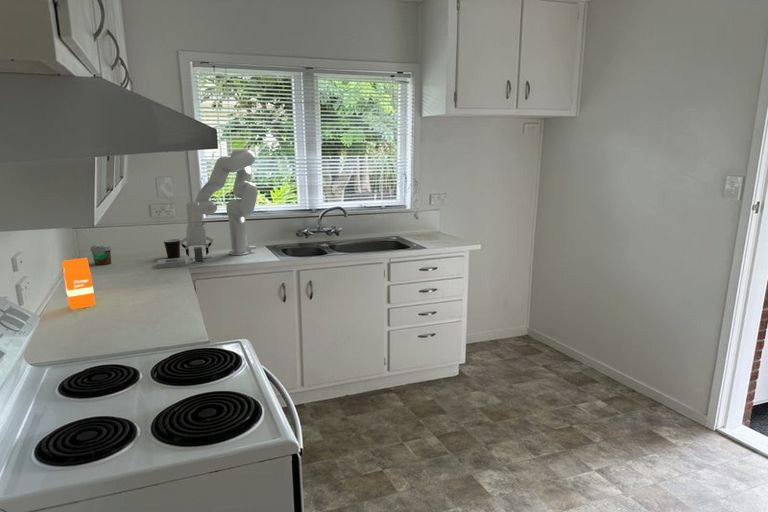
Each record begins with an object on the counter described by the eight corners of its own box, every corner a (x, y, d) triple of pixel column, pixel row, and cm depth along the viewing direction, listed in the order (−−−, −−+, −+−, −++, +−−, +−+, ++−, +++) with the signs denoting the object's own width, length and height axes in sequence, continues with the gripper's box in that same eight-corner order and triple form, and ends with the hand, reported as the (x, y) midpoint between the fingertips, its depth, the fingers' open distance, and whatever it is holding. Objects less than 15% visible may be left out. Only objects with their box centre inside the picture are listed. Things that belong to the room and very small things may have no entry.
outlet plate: (185, 261, 282) (185, 257, 281) (185, 265, 273) (185, 261, 272) (158, 264, 277) (157, 259, 277) (157, 268, 268) (156, 264, 268)
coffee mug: (178, 259, 288) (176, 242, 286) (163, 259, 288) (161, 242, 286) (186, 254, 299) (184, 237, 297) (171, 254, 299) (170, 238, 297)
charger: (203, 260, 284) (201, 246, 282) (203, 262, 280) (201, 247, 279) (195, 261, 283) (193, 246, 281) (195, 262, 279) (194, 248, 277)
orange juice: (68, 306, 209) (60, 259, 205) (92, 302, 214) (85, 255, 210) (71, 311, 203) (63, 262, 198) (96, 306, 208) (88, 259, 204)
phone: (210, 257, 295) (210, 255, 294) (211, 259, 290) (211, 257, 289) (190, 258, 291) (190, 257, 291) (190, 261, 286) (190, 259, 286)
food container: (87, 264, 278) (84, 247, 276) (97, 262, 283) (94, 244, 281) (103, 266, 273) (100, 248, 271) (113, 264, 279) (110, 246, 277)
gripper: (211, 222, 283) (213, 252, 287) (178, 224, 277) (180, 255, 281) (212, 224, 276) (214, 255, 280) (177, 226, 270) (180, 257, 274)
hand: (197, 255), depth 280 cm, fingers open, 9 cm apart
